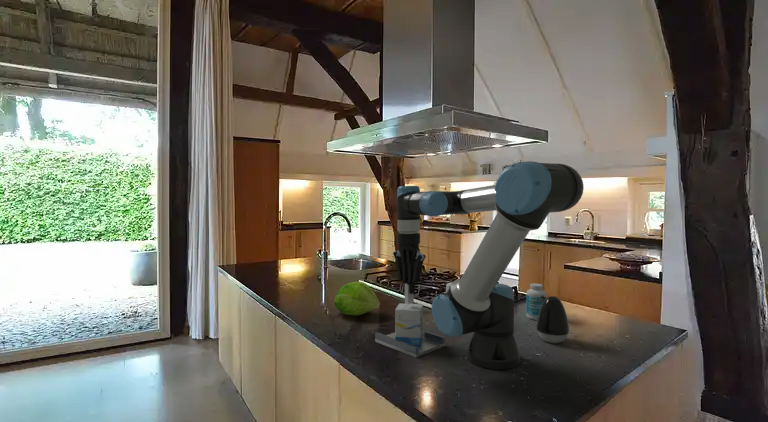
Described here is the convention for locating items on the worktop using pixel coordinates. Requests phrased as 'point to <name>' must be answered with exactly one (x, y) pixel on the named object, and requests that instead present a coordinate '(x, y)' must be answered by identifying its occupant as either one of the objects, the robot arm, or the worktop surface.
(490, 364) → the robot arm
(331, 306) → the worktop surface
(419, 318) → the ink box
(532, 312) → the pill bottle
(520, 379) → the worktop surface
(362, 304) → the lettuce
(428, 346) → the rail board
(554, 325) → the black rounded dome
